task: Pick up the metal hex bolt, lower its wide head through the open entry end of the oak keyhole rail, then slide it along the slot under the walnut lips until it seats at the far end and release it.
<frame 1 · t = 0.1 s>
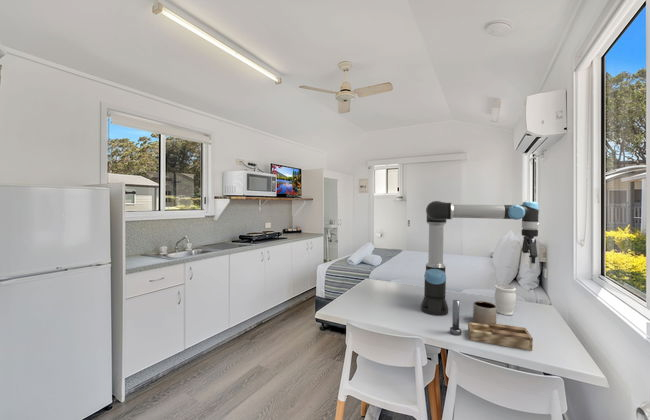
hand: (528, 266, 160), 28 cm above the table, fingers open, 13 cm apart
keyhole rail: (497, 339, 132), on the table
metal hex bolt: (455, 333, 139), on the table
planter: (484, 322, 151), on the table
jar: (504, 313, 165), on the table
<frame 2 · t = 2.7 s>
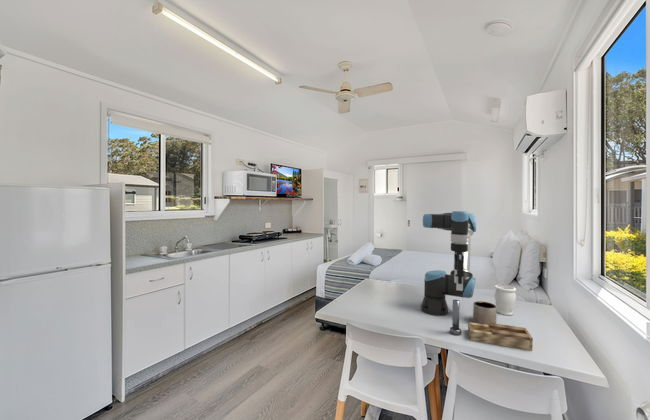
hand: (458, 286, 138), 23 cm above the table, fingers open, 13 cm apart
nothing on the table moved.
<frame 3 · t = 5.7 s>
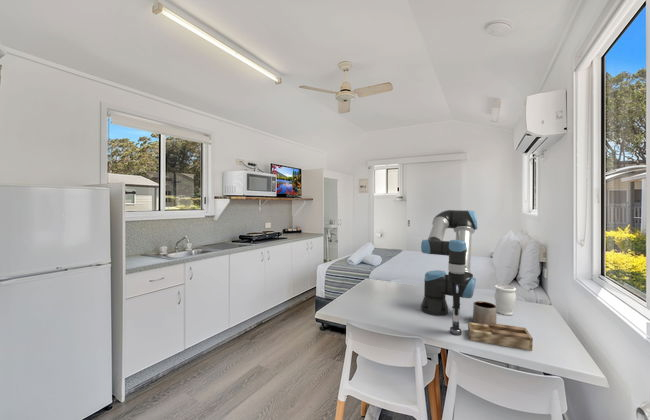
hand: (455, 319, 138), 7 cm above the table, fingers closed on metal hex bolt, 3 cm apart
metal hex bolt: (455, 333, 139), on the table, touching gripper
everything else where it was.
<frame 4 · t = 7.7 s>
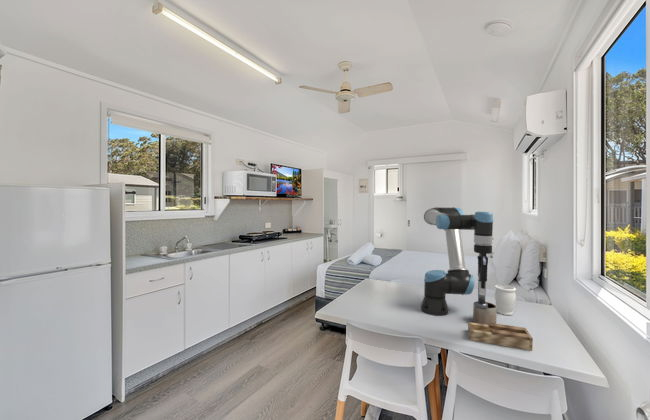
hand: (481, 293, 134), 21 cm above the table, fingers closed on metal hex bolt, 3 cm apart
metal hex bolt: (481, 307, 134), point 14 cm above the table, touching gripper
everything else where it was.
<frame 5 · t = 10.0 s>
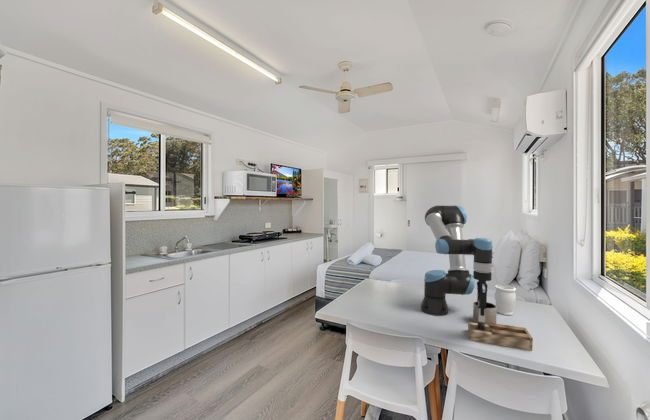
hand: (481, 320, 135), 8 cm above the table, fingers closed on metal hex bolt, 3 cm apart
metal hex bolt: (480, 333, 135), point 1 cm above the table, touching gripper
everything else where it was.
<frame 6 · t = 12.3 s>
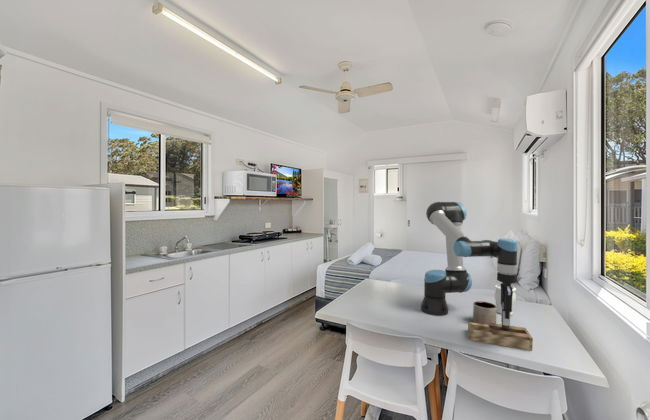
hand: (505, 323, 131), 8 cm above the table, fingers closed on metal hex bolt, 3 cm apart
metal hex bolt: (505, 337, 131), point 2 cm above the table, touching gripper
everything else where it was.
when the fingers open (8 cm above the table, at t = 14.6 s): metal hex bolt stays where it is, resting on keyhole rail.
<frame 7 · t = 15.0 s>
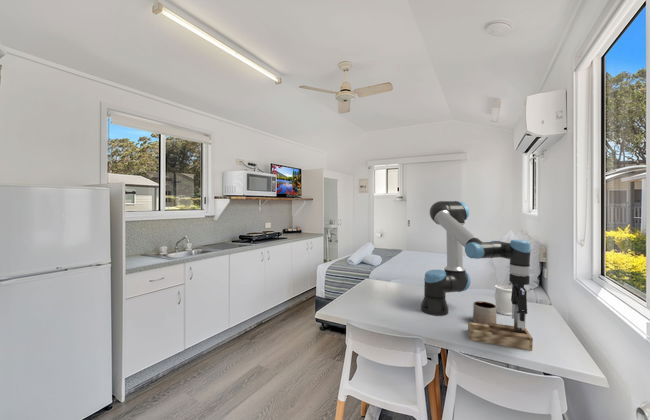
hand: (518, 322, 129), 9 cm above the table, fingers open, 10 cm apart
metal hex bolt: (517, 340, 129), point 1 cm above the table, touching keyhole rail
everything else where it was.
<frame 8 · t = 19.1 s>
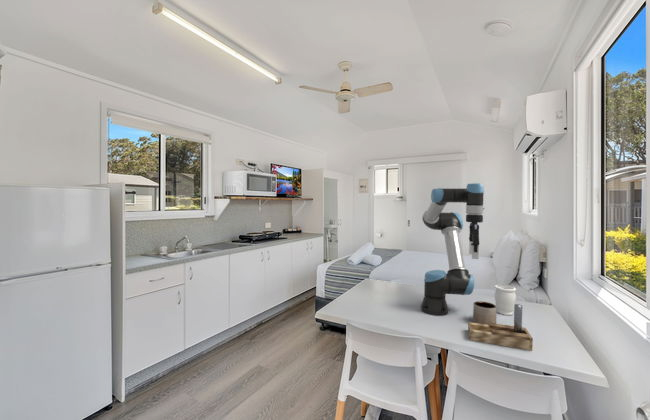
hand: (473, 256, 143), 37 cm above the table, fingers open, 13 cm apart
nothing on the table moved.
at the end: metal hex bolt 0.1 cm from the target spot on the keyhole rail, point 1.2 cm above the keyhole rail's base; the gripper is holding nothing; metal hex bolt tilted 1° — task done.
